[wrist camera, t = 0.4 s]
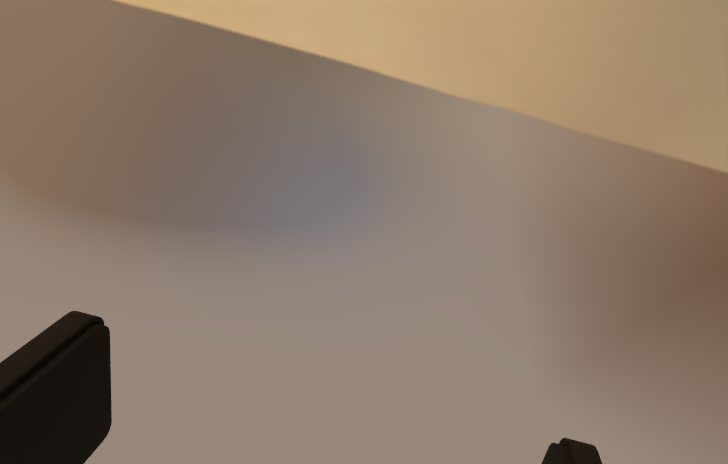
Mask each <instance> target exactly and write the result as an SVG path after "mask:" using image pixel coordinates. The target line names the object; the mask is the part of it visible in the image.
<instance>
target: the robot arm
mask: <svg viewBox="0 0 728 464" xmlns="http://www.w3.org/2000/svg"><path fill="white" fill-rule="evenodd" d="M110 376H111V372H110V332H109V328H108V327H107V326H104V321H103V320H102V318H100V317H97V316H93V315H90V314H86V313H82V312H78V311H71V312H70V313H68V314H66V315H65V316H63V317H62V318H61V319H60V320H58V321H57V322H55V323H54V324H53V325H51V326H50V327H49V328H47V329H46V330H44V331H43V332H42V333H40V334H39V335H38V336H36V337H35V338H34V339H32V340H31V341H29V342H28V343H27V344H26V345H24V346H23V347H21V348H20V349H18V350H17V351H16V352H14V353H13V354H12V355H10V356H9V357H8V358H6V359H5V360H4V361H2V362H1V363H0V464H84V463H85V461H86V460H87V459H88V458H89V457H90V456H91V454H92V453H93V452H94V451H95V450H96V448H97V447H98V446H99V445H100V444H101V443H102V442H103V440H104V439H105V438H106V436H107V434H108V432H109V430H110V426H111V421H112V420H111V377H110ZM542 464H602V462H601V459H600V456H599V453H598V451H597V449H596V447H595V446H593V445H590V444H587V443H582V442H579V441H575V440H571V439H567V438H563V439H562V440H561V441H560V443H559V444H556V443H552V444H551V445H550V446H549V448H548V450H547V452H546V455H545V457H544V460H543V462H542Z"/></svg>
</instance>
